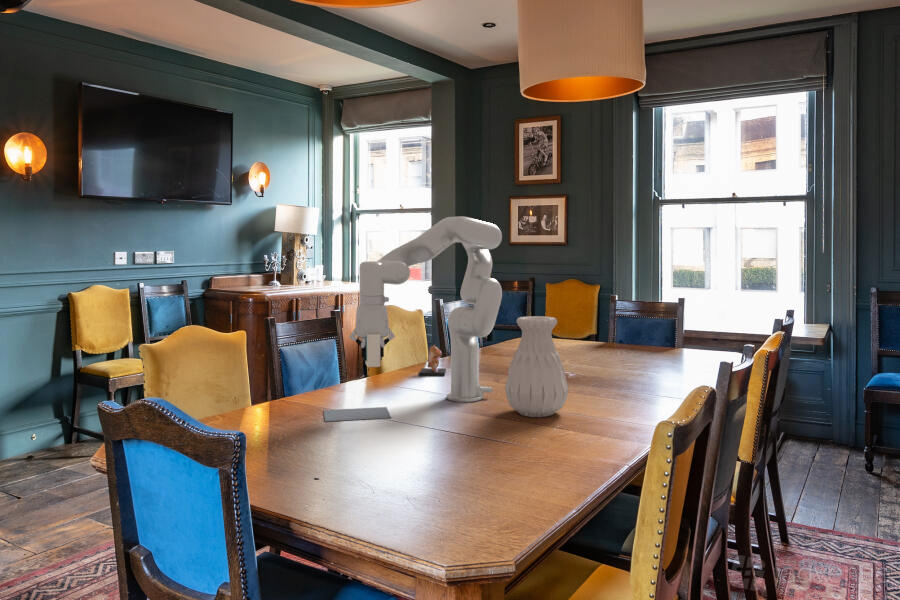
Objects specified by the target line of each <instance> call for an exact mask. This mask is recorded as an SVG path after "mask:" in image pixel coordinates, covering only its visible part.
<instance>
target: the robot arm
mask: <svg viewBox="0 0 900 600" xmlns="http://www.w3.org/2000/svg"><path fill="white" fill-rule="evenodd" d="M502 234H503V233H502V231H501V229H500V228H499V227H498V226H497V225H496V224H495V223H494V224H493V223H491V222H486V221H484V220H483V221H482V220H479V219H475V218H472V217H468V216H460V215H459V216H448V217H444V218H443V219H441V220H440V221H438V222H437V223H435V224H434V225H433V226H431V227H430V228H428V229H427V230H426V231H424V232H422V234H420V235H419V236H417V237H416V238H414V239H412V240H410V241H407V242H406V243H404V244H402V245H400V246H398V247H396V248H394V249H392V250H391V251H389V252H388V253H386V254H385V255H383V256H382V257H381V258H379V259H378V260H377V261H362V262H361V263H360V264H359V305H357V307H356V311H355V312H356V313H355V328H354V329H353V331H352V332H351V334H349V339H350V340H351V341H353V342H355V343H357V344H358V346H359V347H360V348H361V349H360V351H361V352H360V355H361V357H360V358H362V359H363V361H364V362H365V361H366V346H365V342H366V336H367V334H380V361H382V360H383V358H384V356H385V355H384V354H385V353H384V351H385V349H384V347H385V346H386V345H388V343H389V342H391V341H392V340H394V338H395V337H396V335H395V334H394V332H393V331H392V329H391V328H390V325H389V314H388V307H387V305H386V304H385V303H387V302H389V301H390V297H388V296H387V297H386V296H385V284H386V285H387V284H390V285H402V284H404V283H406V282H407V281H408V280H409V278H410V276H411V275H410V274H411V270H410V267H411V266H414V265H418V264H422V263H425V262H429V261H431V260H433V259H435V258H436V257H437V256H438V255H440V254H441V253H442V252H443V251H445V250H446V249H447V248H449V247H450V246H452V245H453V244H455V243H461V244H462V246H463V248H464V249H465V251H466V255H467V257H468V258H467V267H466V270H465V273H464V277H463V281H462V284H461V287H460V292H459V293H460V298H461V300H462V301H463V302H464V303H466V304H468V305H469V304H470V305H474V307H470V306H459V307H455V308H454V309H453V310H451V311H450V313H449V315H448V318H447V328H448V332H449V337H450V392H449V393H447V394H446V399H447V400H449V401H453V402H456V403H457V402H459V403H471V402H479V401H481V400H482V399H484V393H489V394H490V393H493V386H481V384H479V383H480V382H479V381H480V380H479V379H480V378H479V371H480V370H479V366H480V363H479V358H480V357H479V353H480V350H479V341H478V339H477V338H485V337H488V335H490V333H491V332H492V331H493V328H494V326H495V324H496V320H497V316H498V314H499V310H500V306H501V303H502V298H503V290H502V286H501V283H500V282H499V281H498V280H497V279H495V278H493V277H491V275H492V269H493V259H492V254H491V252H490V250H494V249H496V248H498V247H499V246H500V244H501V243H502V239H503V235H502Z"/></svg>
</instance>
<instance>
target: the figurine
mask: <svg viewBox="0 0 900 600" xmlns="http://www.w3.org/2000/svg"><path fill="white" fill-rule="evenodd" d="M428 351H429V354H428V359H427V367H424V368H423V367H422V368H421V369H420V371H419V372H418V373H419V375H418V376H419V377H445V375H446V373H447V368H443V367H442V368H440V367H439V364H440V360H441V358H442V355H443V354H442V351H441V350H440V349H439V348H438V347H437V346H436V344H433V346H431V347H430V348H429V349H428ZM438 367H439V368H438Z"/></svg>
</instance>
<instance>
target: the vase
mask: <svg viewBox="0 0 900 600" xmlns="http://www.w3.org/2000/svg"><path fill="white" fill-rule="evenodd" d="M516 323H517V325H518V327H519V328H520V330H521V337H520V338H521V339H520V341H519V344H518V347H517V349H516V350H515V352H514V354H513V356H512V359H511V362H510V364H509V367H508V370H507V371H508V374H507V378H506V381H505V385H504V392H505V395H506V398H507V402H508V405H509V406H510V407H511V408H512V410H514V411H516V412H518V414H520V415H522V416H525V417H530V418H536V417H537V418H544V417H550V416H552V415H554V414H555V413H557V412H558V411H560V410H561V409H562V408H563V407H564V406H565V403H566V401H567V397H568V394H569V386H568V382H567V379H566V378H567V377H566V370H565V366H564V364H563V362H562V359H561V355H560V353H559V352H558V350H557V348H556V346H555V343H554V341H553V336H552V333H553V332H552V331H553V329H554V328H555V327H556V325H557V324H558V319H557V318H556V317H551V316H543V315H541V316H538V315H537V316H535V315H534V316H529V315H528V316H520V317H519V316H518V317H517V319H516Z"/></svg>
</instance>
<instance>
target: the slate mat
mask: <svg viewBox="0 0 900 600" xmlns="http://www.w3.org/2000/svg"><path fill="white" fill-rule="evenodd" d="M323 415H324V422H325V423H330V422H331V423H332V422H351V421H365V420H366V421H369V420H387V419H389V420H390V419H392V416H391V414H390V412H389V410H388V407H387V406H381V407H380V406H379V407H378V406H377V407H360V408H342V409H341V408H339V409H324V410H323Z"/></svg>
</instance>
